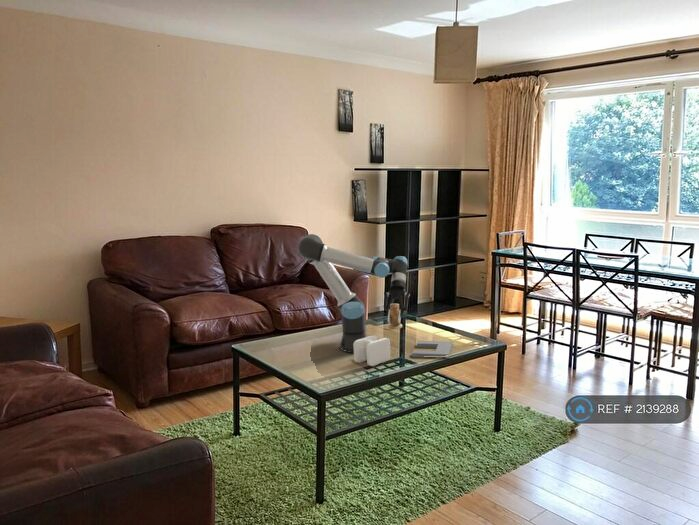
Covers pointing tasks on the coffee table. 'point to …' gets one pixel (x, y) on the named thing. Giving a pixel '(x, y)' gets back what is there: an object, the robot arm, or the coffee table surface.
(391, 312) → the bobbin
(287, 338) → the coffee table surface
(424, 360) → the coffee table surface
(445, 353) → the notched board
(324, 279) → the robot arm
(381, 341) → the cable organizer
